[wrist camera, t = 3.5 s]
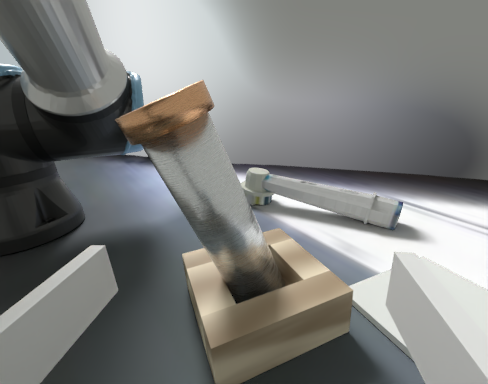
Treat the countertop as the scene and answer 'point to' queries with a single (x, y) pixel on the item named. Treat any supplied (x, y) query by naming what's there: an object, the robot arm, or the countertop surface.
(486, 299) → the rubber mat
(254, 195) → the toothbrush head
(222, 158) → the steel plug
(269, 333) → the bore block
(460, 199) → the countertop surface
